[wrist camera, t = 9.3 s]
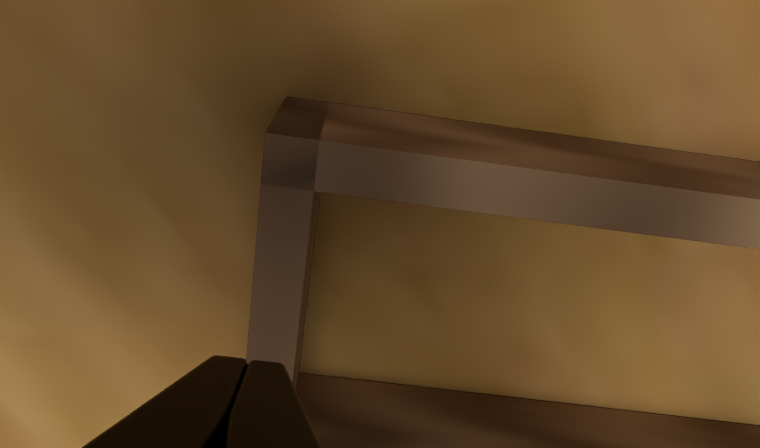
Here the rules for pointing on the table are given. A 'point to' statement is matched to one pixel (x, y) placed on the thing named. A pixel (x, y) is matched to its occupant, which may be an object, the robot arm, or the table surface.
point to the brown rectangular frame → (490, 196)
